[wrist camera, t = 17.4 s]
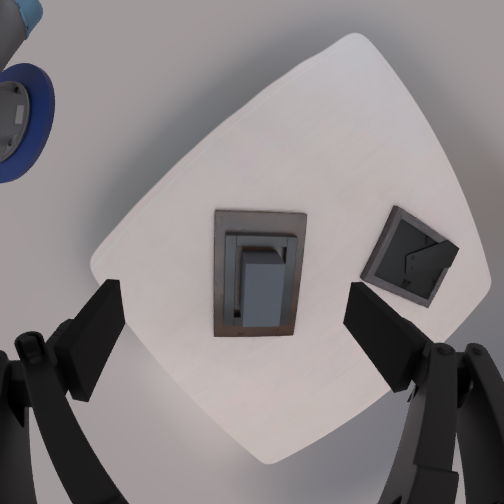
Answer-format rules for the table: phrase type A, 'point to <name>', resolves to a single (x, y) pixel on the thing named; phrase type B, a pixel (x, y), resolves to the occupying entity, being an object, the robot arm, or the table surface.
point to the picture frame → (409, 259)
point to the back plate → (229, 265)
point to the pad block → (261, 288)
